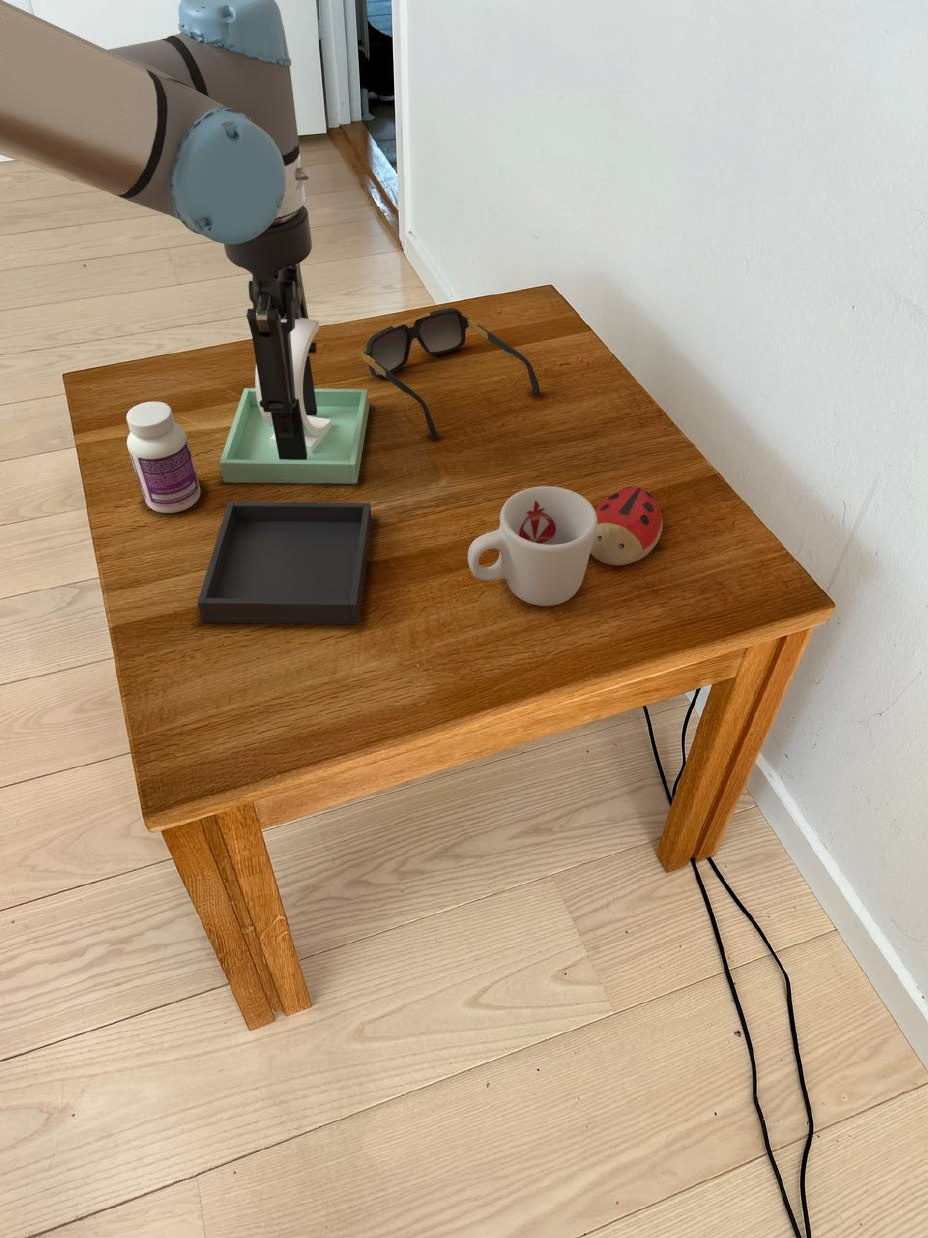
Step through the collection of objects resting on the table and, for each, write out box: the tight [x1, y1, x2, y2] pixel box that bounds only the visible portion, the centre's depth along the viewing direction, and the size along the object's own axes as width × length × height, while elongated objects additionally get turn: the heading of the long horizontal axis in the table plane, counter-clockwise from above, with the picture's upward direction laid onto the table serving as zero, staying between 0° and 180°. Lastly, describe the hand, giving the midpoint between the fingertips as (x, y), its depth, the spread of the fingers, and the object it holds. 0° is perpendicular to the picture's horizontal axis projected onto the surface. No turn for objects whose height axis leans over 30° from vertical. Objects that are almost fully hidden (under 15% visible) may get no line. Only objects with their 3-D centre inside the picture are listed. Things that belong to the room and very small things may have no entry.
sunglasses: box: [360, 307, 541, 439], centre depth 101 cm, size 14×15×5 cm
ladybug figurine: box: [590, 486, 664, 566], centre depth 85 cm, size 7×10×4 cm
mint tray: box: [219, 387, 370, 485], centre depth 95 cm, size 13×13×2 cm
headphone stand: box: [254, 318, 332, 453], centre depth 91 cm, size 5×6×12 cm
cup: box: [467, 485, 597, 607], centre depth 78 cm, size 11×8×8 cm
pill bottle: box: [126, 401, 202, 514], centre depth 86 cm, size 5×5×10 cm
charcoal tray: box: [196, 501, 373, 625], centre depth 82 cm, size 13×13×2 cm
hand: (298, 434), depth 95 cm, fingers closed on headphone stand, 7 cm apart
